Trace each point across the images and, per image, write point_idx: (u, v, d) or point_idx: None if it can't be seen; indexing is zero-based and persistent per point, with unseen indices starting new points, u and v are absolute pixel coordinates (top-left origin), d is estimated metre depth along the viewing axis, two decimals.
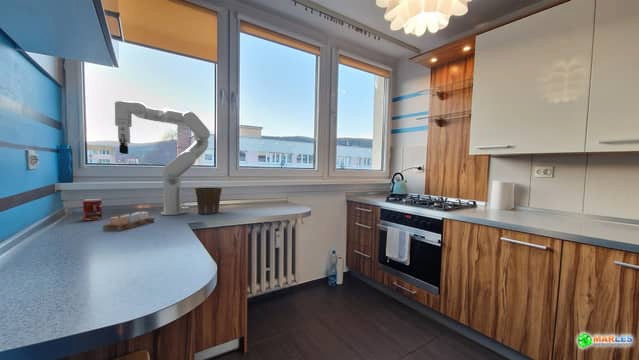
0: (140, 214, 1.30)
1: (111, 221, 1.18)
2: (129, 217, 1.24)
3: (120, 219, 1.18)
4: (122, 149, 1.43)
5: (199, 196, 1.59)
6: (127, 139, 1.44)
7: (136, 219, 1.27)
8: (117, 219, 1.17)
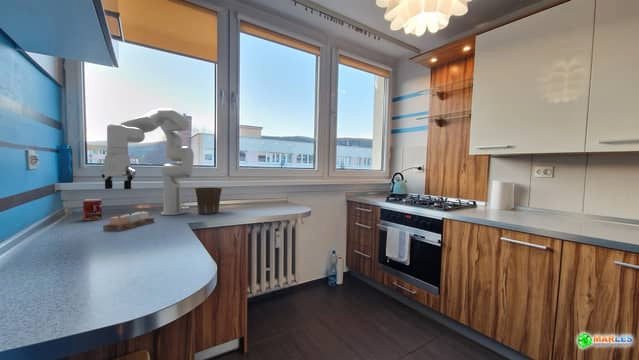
0: (140, 214, 1.30)
1: (111, 221, 1.18)
2: (129, 217, 1.24)
3: (120, 219, 1.18)
4: None
5: (199, 196, 1.59)
6: None
7: (136, 219, 1.27)
8: (117, 219, 1.17)
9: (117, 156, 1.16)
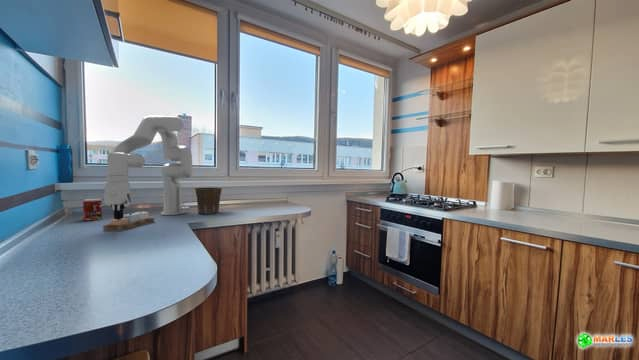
0: (140, 214, 1.30)
1: (111, 224, 1.18)
2: (129, 217, 1.24)
3: (120, 221, 1.18)
4: None
5: (199, 196, 1.59)
6: None
7: (136, 219, 1.27)
8: (117, 222, 1.17)
9: (117, 184, 1.16)
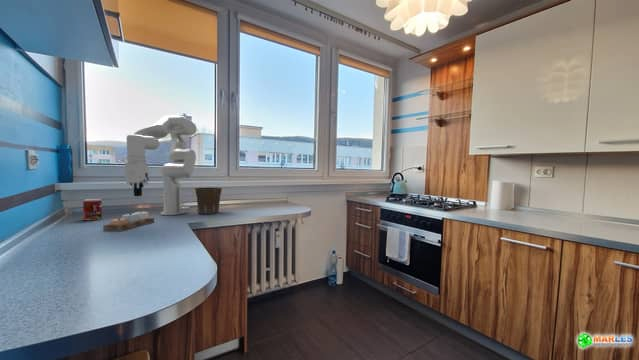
0: (140, 214, 1.30)
1: (111, 224, 1.18)
2: (129, 217, 1.24)
3: (120, 222, 1.18)
4: None
5: (199, 196, 1.59)
6: None
7: (136, 219, 1.27)
8: (117, 222, 1.17)
9: (136, 164, 1.27)
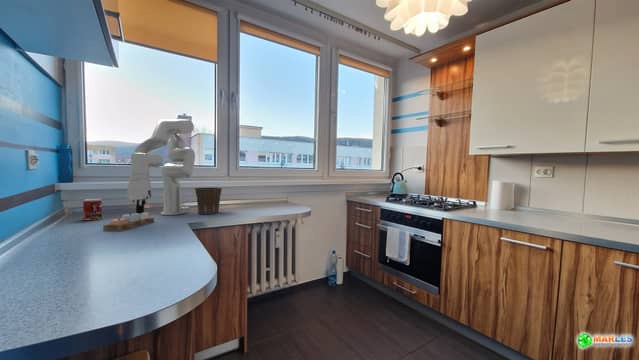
0: (140, 215, 1.30)
1: (111, 224, 1.18)
2: (129, 217, 1.24)
3: (120, 222, 1.18)
4: None
5: (199, 196, 1.59)
6: None
7: (136, 219, 1.27)
8: (117, 222, 1.17)
9: (139, 181, 1.29)
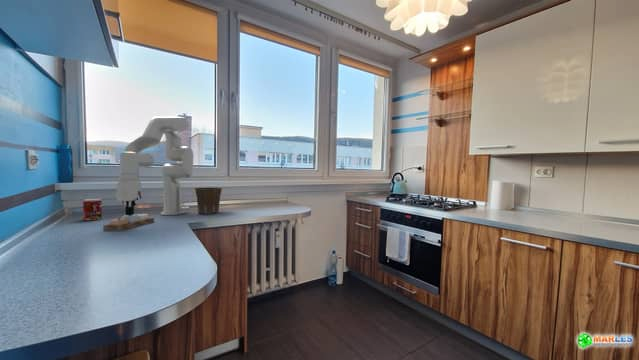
0: (140, 216, 1.30)
1: (111, 224, 1.18)
2: (129, 218, 1.24)
3: (120, 222, 1.18)
4: None
5: (199, 196, 1.59)
6: None
7: (136, 220, 1.27)
8: (117, 222, 1.17)
9: (129, 181, 1.23)
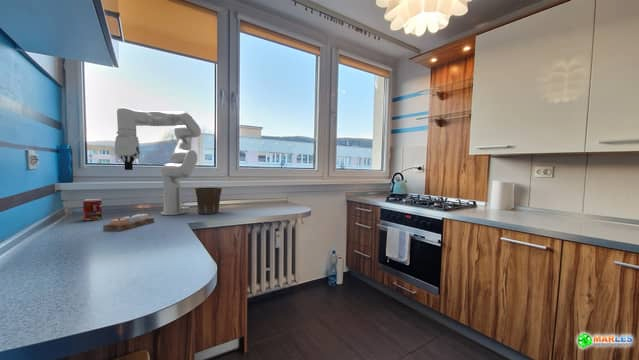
0: (140, 216, 1.30)
1: (111, 224, 1.18)
2: (129, 219, 1.24)
3: (120, 222, 1.18)
4: None
5: (199, 196, 1.59)
6: None
7: None
8: (117, 222, 1.17)
9: (127, 137, 1.27)
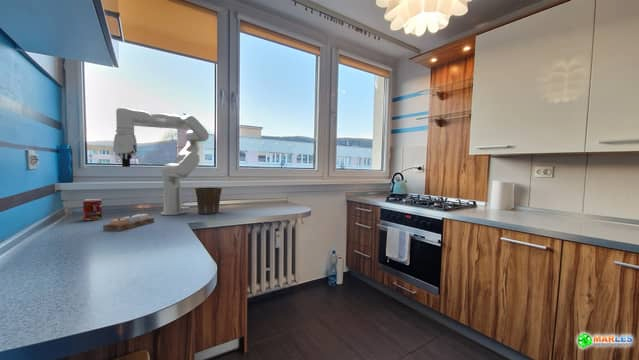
0: (140, 216, 1.30)
1: (111, 224, 1.18)
2: (129, 219, 1.24)
3: (120, 222, 1.18)
4: None
5: (199, 196, 1.59)
6: None
7: None
8: (117, 222, 1.17)
9: (125, 135, 1.34)
